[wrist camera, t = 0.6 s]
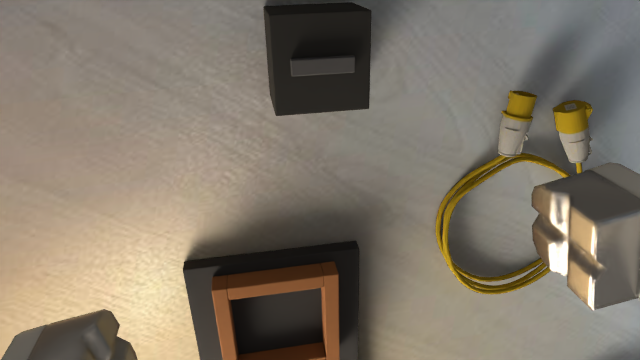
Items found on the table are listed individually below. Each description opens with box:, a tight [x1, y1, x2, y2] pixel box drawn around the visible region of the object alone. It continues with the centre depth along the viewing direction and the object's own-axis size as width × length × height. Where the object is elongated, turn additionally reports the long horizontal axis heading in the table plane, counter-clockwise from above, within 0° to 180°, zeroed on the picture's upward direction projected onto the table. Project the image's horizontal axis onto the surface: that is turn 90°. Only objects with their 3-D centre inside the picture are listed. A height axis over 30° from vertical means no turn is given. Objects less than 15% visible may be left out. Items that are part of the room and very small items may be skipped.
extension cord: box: [436, 91, 593, 294], centre depth 33 cm, size 12×16×2 cm
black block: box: [264, 2, 371, 116], centre depth 25 cm, size 5×5×4 cm
